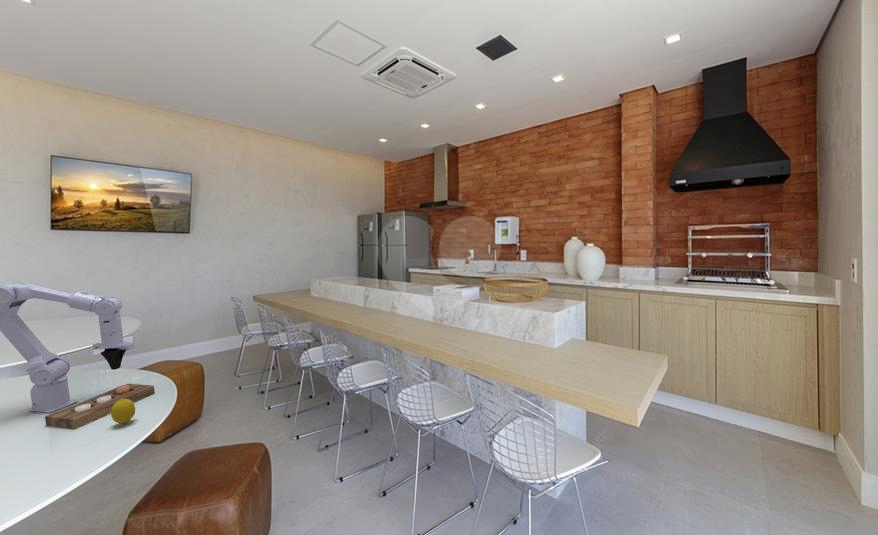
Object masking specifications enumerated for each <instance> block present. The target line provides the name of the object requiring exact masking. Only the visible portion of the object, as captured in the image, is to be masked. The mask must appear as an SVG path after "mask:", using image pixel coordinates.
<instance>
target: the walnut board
mask: <svg viewBox="0 0 878 535" xmlns="http://www.w3.org/2000/svg"><path fill="white" fill-rule="evenodd" d="M125 385H130V392H127V393H125V394H123V395H117V394H116V388H113V389H111V390H108V391H107V392H103V393H100V394H98V395H96V396H93V397H91V398H87V399H86V400H83V401H80V402H76V403H74V404H71V405H69V406H66V407H64V408H61V409H59V410H56V411H54V412H53V413H52V412H51V413H49V414H48V415H45V416H44V420H45V421H44V422H45V426H47V427H55V428H62V429H63V428H65V429H71V430H77V429H79V428H82V427H83V426H85V424H86V425H88V424H90V423H92V422H94V420H95V421H97V420H99V419H101V418H103V417H105V415H106V416H108V415H111V410H112V407H113V405H114V404H115V403H116V402H117V401H119V400H120V399H122V398H123V399H129V400H131V401H132V402H135V403H137V402H139V401H141V400H143V399H145V397H146V398H148V397H150V396H152V395H154V393H155V394H156V392H155V386H154V384H153V385H152V384H139V383H125ZM107 395H111V400H108V401H106V402H103V403H97V400H96V399H98V398H100V397H102V396H107ZM138 400H139V401H138ZM136 401H137V402H136ZM83 404H91V408H89V409H87V410H84V411H82V412H75V407H77V406H80V405H83ZM107 414H108V415H107ZM98 418H99V419H98ZM96 419H97V420H96ZM91 421H92V422H91ZM89 422H90V423H89ZM87 423H88V424H87ZM78 427H79V428H78Z"/></svg>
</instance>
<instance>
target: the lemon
mask: <svg viewBox="0 0 878 535" xmlns="http://www.w3.org/2000/svg"><path fill="white" fill-rule="evenodd" d="M135 414H136V405H135V403H133V402H132V401H131V400H129V399H123V398H122V399H120V400H119V401H117V402H116V403H115V404H114V405H113V407H112V410H111V413H110V416H111V419H112V420H113V421H114V422H115V423H118V424H123V425H126V424H127V423H128V422H129V421H130V420H131V419H132V418H133V417H134V416H135Z"/></svg>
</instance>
